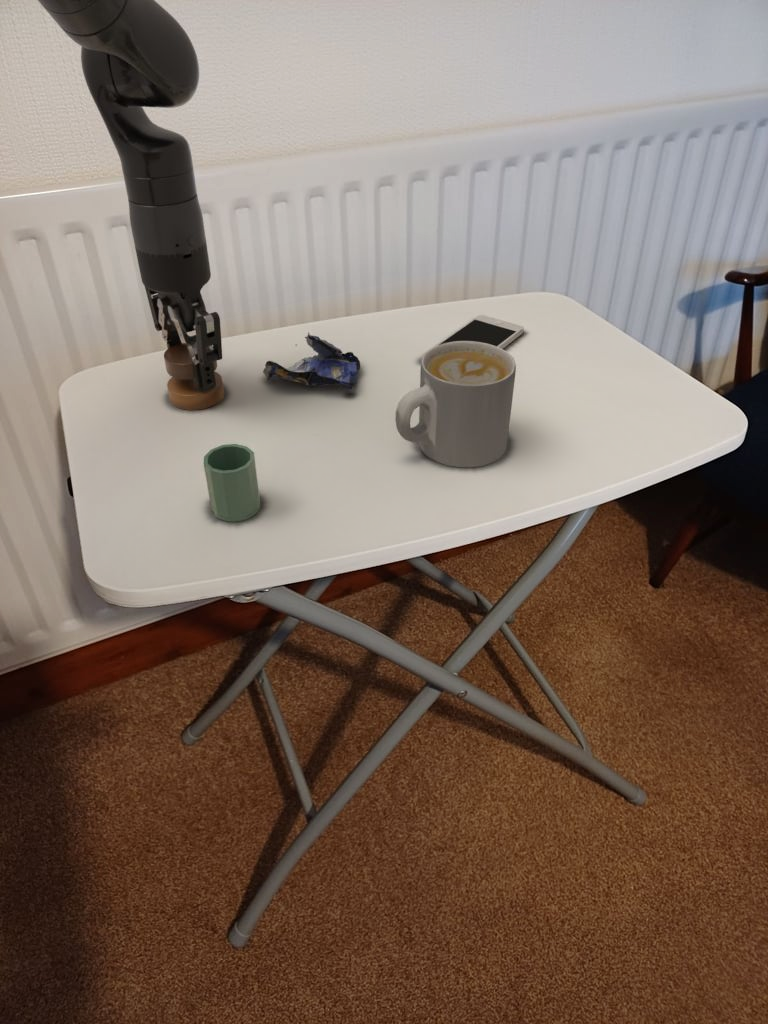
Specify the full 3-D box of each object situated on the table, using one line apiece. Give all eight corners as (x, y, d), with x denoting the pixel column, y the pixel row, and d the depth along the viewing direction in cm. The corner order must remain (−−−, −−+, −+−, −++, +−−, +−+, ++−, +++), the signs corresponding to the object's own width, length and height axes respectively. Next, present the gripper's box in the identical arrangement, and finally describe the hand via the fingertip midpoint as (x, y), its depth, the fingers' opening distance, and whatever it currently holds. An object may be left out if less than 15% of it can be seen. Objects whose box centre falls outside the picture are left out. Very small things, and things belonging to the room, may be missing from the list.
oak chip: (206, 414, 93) (203, 399, 92) (159, 404, 95) (156, 389, 94) (234, 388, 98) (232, 374, 96) (188, 379, 100) (186, 364, 98)
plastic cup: (245, 526, 77) (238, 476, 73) (203, 515, 78) (194, 466, 74) (268, 498, 80) (263, 449, 76) (227, 488, 82) (220, 440, 78)
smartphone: (524, 332, 110) (525, 325, 109) (467, 376, 100) (468, 369, 99) (479, 319, 113) (480, 313, 112) (421, 361, 103) (421, 354, 102)
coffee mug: (485, 412, 93) (492, 335, 87) (522, 458, 86) (532, 377, 80) (377, 432, 90) (377, 352, 84) (406, 480, 83) (408, 398, 76)
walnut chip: (200, 383, 91) (197, 367, 89) (156, 374, 92) (153, 359, 91) (226, 360, 95) (224, 345, 94) (184, 352, 97) (181, 337, 96)
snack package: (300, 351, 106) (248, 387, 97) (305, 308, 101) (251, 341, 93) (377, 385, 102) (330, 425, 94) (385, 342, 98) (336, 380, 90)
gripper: (109, 228, 87) (138, 365, 97) (168, 267, 78) (194, 412, 88) (171, 215, 90) (193, 348, 101) (234, 250, 82) (251, 392, 92)
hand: (193, 377), depth 95 cm, fingers closed on walnut chip, 6 cm apart
